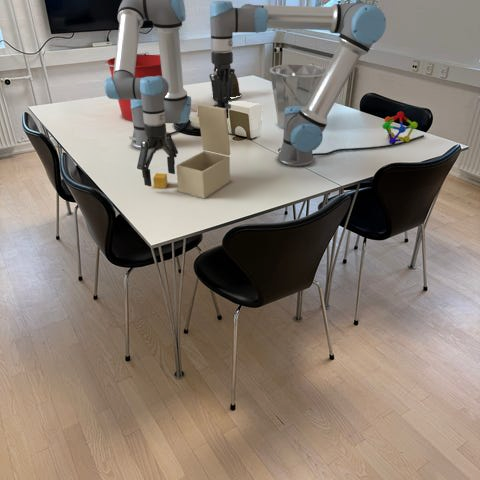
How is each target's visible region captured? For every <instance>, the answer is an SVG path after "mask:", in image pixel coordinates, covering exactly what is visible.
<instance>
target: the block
mask: <svg viewBox="0 0 480 480" xmlns="http://www.w3.org/2000/svg"><path fill="white" fill-rule="evenodd" d="M152 180H153V188H154V189H155V188H156V189H166V187H167V186H168V184H169V183H168V174H167V173H161V172H160V173H159V172H158V173H157V172H156V173H155V174H154V176H153V179H152Z"/></svg>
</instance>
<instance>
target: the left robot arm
mask: <svg viewBox="0 0 480 480" xmlns="http://www.w3.org/2000/svg"><path fill="white" fill-rule="evenodd" d="M186 16H187V15H186V6H185V1H184V0H121V2H120V5H119V8H118V11H117V21H118V32H117V40H116V48H115V56H114V58H115V64H114V72H113V77H112V76H110V77H106V78H105V81H104V91H105V95H106V97H107V98H108V99H110V100H117V101H118V100H120V99H131V111H132V118H133V121H132V125H133V132H132V135H129V137H128V138H129V140H131V142H130V143H131V147H132V148H134V149H135V150H140V151H139V154H138V155H139V156H138V161H137V165H136V169H137V170H140V171H141V173H142V174H141V175H142V178H143V181H144V182H143V183H144V186H146V187H152V176H151V169H150V168H149V167H150V164H151V162H152V160H153V157H154V154H156V152H157V151H159V150H161V149H162V151H164V152H165V153H166V155H167V157H166V161H167V172H168V174H171V175H175V174H176V169H175V163H176V161H175V160H176V159H175V158H177V157H178V154H179V151H178V149H177V146H176V144H175V142H174V140H173V137H172V135H173V134H177V133H179V132H181V131H182V130H183V129H184V128H185V127H186V126H187V125H188V124H189V122H190V121H189V118H191V117H190V116H191V111H192V110H191V108H192V96H190V95H188V92H187V90H186V89H185V88H184V81H183V67H182V53H181V42H180V41H181V40H180V29H181V28H182V27H183V22H185V21H186ZM146 21H147V22H152V27H153V28H154V29H155V30H157V40H158V49H159V55H160V60H161V70H162V76H150V77H144V78H134V76H135V66H136V57H137V54H138V46H139V37H140V29H141V28H142V27H143V25H144V22H146ZM185 123H186V124H185ZM167 124H178V125H179V124H185V126H184V125H183V126H184V127H183V126H182V127H183V128H182V127H180V128H181V129H180V128H179V129H180V130H179V129H177V130H174V131H172V132H171V131H170V132H168V131H167Z"/></svg>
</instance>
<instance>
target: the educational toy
mask: <svg viewBox="0 0 480 480" xmlns="http://www.w3.org/2000/svg"><path fill="white" fill-rule="evenodd" d="M397 119H399V124H400V125H399V127H398V126H393V125H391V124H392V123H394V122H395V121H396V120H397ZM403 120H404V121H405V122H407V123H408V124H409V125H407V126H404V123H403ZM417 127H418V122H417V121H411V120H410V119H409V118H408V117H406V116H405V113H404V112H403V111H401V110H400V111H398V112H397V114H396V115H394V116H391V117H390V116H386V117H385V118H384V122H383V123H382V129H383V130H386V132H387V138H388V142H389V145H390V144H395V143H398V142H403V141H406V142H407V143H409V140H410V139H411V138H410V136H411V134H412V132H413V131H414V130H415V129H417ZM392 129H393V130H397V131H398V132H396V134H395V133H394V132H392ZM408 129H409V131H408V133H407V134H406V135H404V136H401V134H403V133H405V132H406V130H408ZM399 135H400V136H399Z"/></svg>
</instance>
